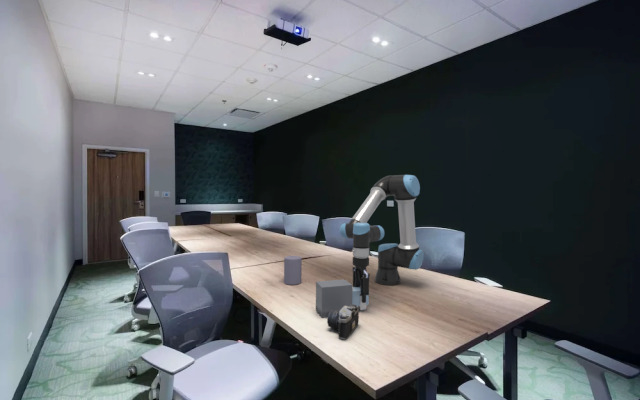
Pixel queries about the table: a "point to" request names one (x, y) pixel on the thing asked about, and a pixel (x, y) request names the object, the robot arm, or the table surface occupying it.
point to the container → (292, 270)
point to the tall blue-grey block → (358, 296)
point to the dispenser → (332, 296)
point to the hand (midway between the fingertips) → (360, 306)
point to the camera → (344, 320)
